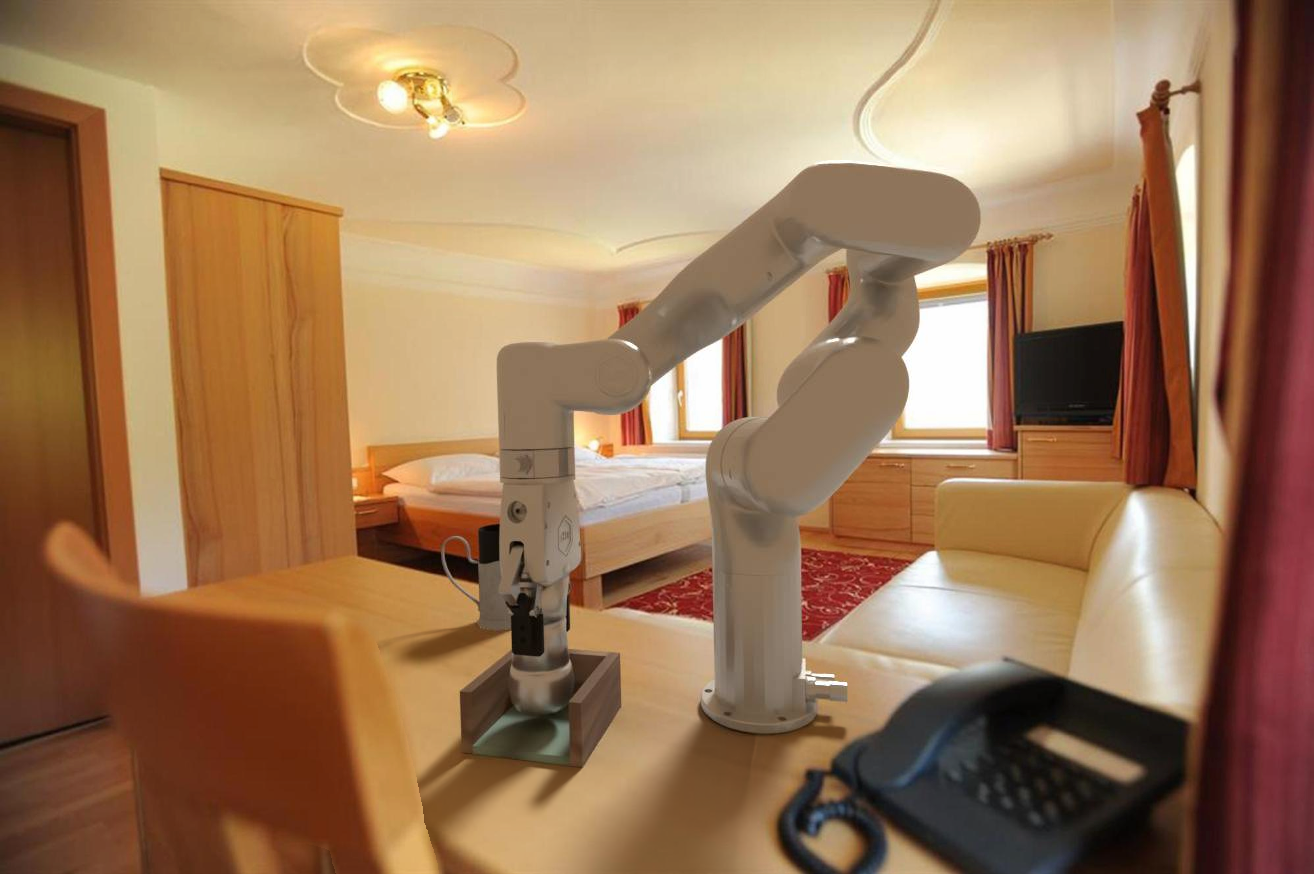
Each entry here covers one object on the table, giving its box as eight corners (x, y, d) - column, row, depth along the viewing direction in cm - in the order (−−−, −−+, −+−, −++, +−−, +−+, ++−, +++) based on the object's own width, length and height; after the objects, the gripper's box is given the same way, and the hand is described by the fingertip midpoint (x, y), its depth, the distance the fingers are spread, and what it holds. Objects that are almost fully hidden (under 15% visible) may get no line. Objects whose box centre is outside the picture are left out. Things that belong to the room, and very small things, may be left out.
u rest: (621, 706, 67) (620, 652, 67) (582, 767, 56) (580, 703, 56) (518, 696, 70) (517, 644, 70) (461, 752, 59) (459, 691, 59)
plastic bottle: (562, 726, 59) (557, 520, 58) (497, 720, 60) (491, 519, 59) (583, 696, 65) (579, 510, 64) (524, 691, 66) (519, 509, 66)
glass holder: (527, 630, 92) (524, 532, 92) (433, 632, 92) (430, 534, 92) (538, 611, 101) (535, 521, 101) (453, 613, 101) (450, 523, 101)
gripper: (535, 474, 52) (540, 681, 53) (600, 459, 69) (604, 617, 70) (457, 474, 54) (463, 674, 55) (539, 460, 71) (543, 613, 72)
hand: (542, 640), depth 62 cm, fingers closed on plastic bottle, 5 cm apart
